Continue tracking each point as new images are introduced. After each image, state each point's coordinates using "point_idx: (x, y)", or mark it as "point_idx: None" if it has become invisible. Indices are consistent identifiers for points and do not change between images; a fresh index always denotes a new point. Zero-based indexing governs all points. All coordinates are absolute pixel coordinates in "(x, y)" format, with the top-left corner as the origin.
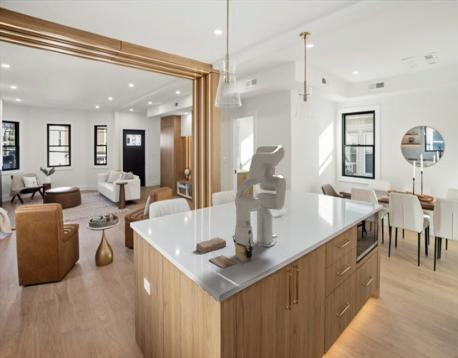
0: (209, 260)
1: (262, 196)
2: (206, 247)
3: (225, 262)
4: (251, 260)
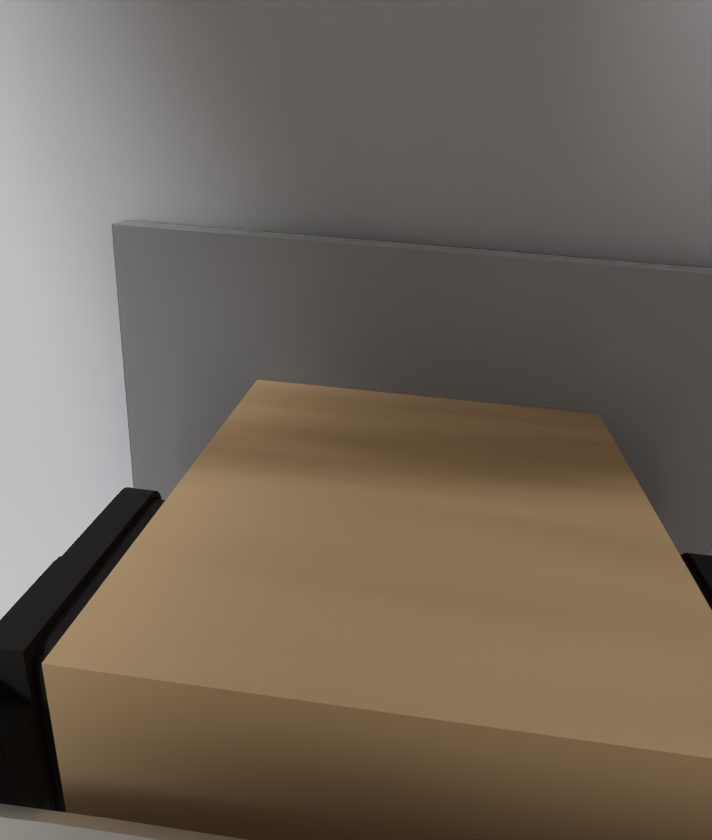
0: None
1: None
2: None
3: None
4: (696, 529)
